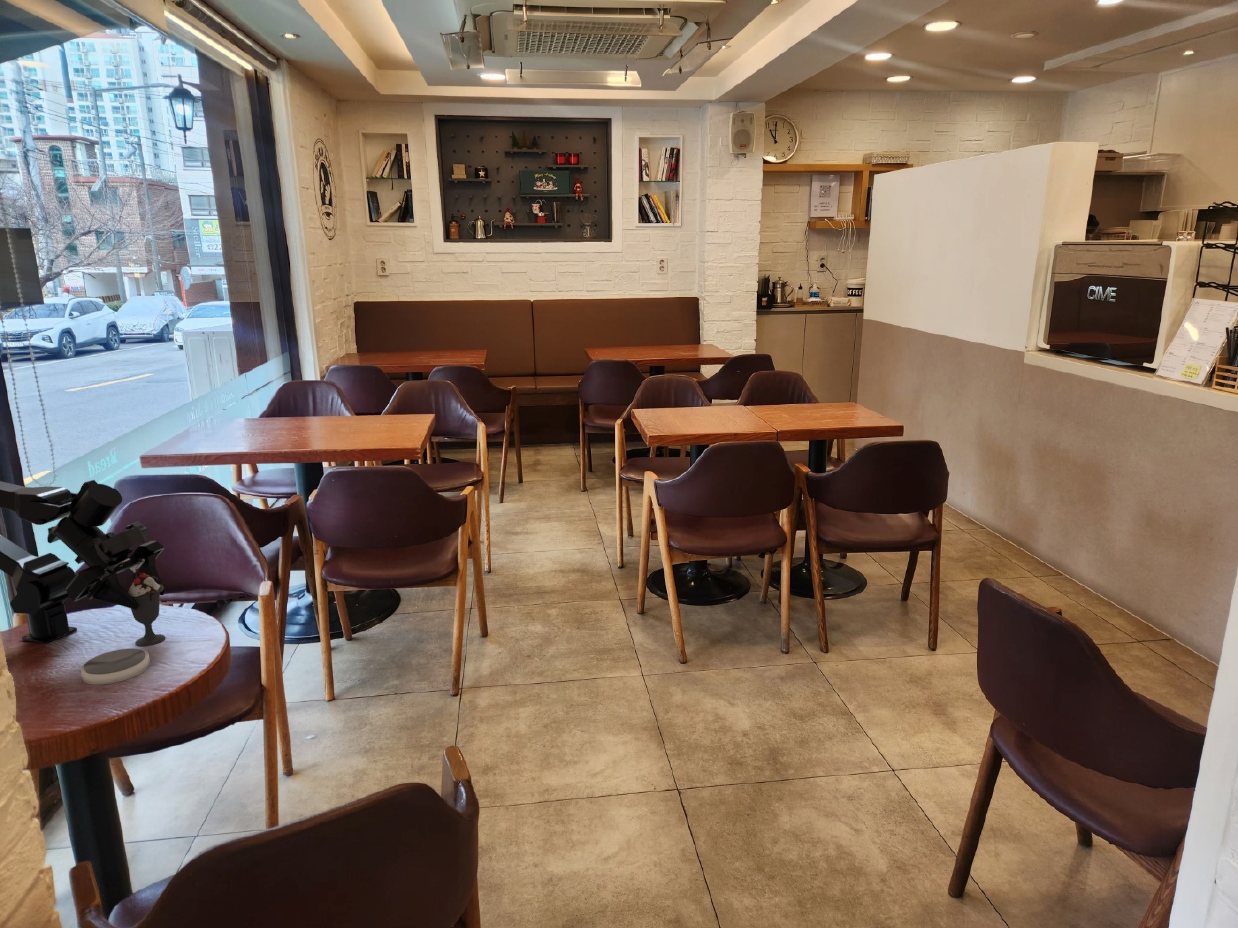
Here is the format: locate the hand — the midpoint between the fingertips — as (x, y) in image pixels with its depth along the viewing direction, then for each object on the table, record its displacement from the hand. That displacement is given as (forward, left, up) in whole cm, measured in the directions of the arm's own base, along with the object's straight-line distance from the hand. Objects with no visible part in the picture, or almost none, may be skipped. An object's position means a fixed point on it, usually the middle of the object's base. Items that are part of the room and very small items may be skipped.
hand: (151, 600), depth 145 cm
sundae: (-1, 0, -8) cm, 8 cm away
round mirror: (+4, -11, -8) cm, 14 cm away
